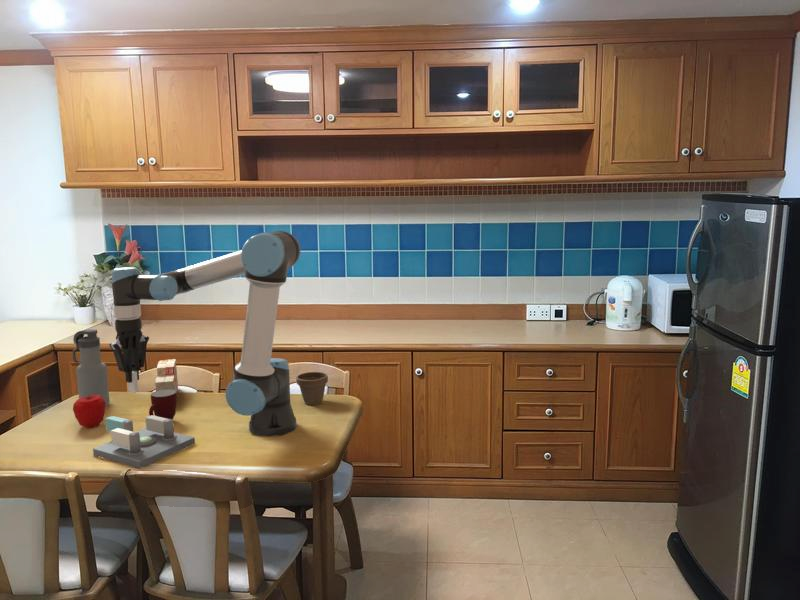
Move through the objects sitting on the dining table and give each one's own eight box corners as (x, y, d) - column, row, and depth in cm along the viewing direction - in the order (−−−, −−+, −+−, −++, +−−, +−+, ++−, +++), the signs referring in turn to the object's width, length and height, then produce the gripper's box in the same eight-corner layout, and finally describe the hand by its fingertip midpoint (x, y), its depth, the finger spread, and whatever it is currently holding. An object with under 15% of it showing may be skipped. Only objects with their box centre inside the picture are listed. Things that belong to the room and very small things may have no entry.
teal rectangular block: (135, 437, 189) (134, 420, 188) (128, 440, 186) (126, 423, 186) (114, 431, 193) (113, 415, 193) (106, 434, 191) (105, 418, 190)
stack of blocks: (174, 405, 225) (172, 372, 223) (156, 407, 223) (153, 374, 221) (178, 388, 245) (176, 358, 243) (161, 390, 243) (159, 359, 241)
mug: (164, 429, 201) (162, 400, 199) (142, 427, 203) (140, 398, 201) (183, 418, 211) (181, 390, 209) (162, 416, 213) (160, 388, 211)
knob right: (176, 436, 189) (174, 420, 188) (168, 439, 187) (167, 423, 186) (153, 430, 194) (152, 414, 193) (146, 433, 191) (144, 417, 190)
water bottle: (72, 408, 222) (65, 332, 218) (93, 400, 231) (86, 326, 227) (95, 411, 219) (88, 334, 215) (115, 402, 228) (109, 328, 224)
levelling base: (195, 443, 189) (194, 433, 189) (140, 468, 172) (139, 457, 171) (149, 432, 199) (149, 422, 198) (93, 455, 181) (92, 444, 181)
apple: (96, 419, 211) (93, 388, 210) (114, 424, 206) (111, 392, 205) (68, 428, 203) (65, 396, 201) (86, 433, 198) (83, 401, 196)
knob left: (142, 450, 179) (141, 433, 178) (134, 454, 176) (133, 436, 175) (120, 444, 183) (118, 427, 182) (111, 447, 181) (110, 430, 180)
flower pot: (290, 402, 227) (289, 375, 225) (316, 395, 235) (315, 369, 233) (308, 409, 219) (307, 382, 217) (334, 402, 226) (334, 375, 225)
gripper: (137, 313, 198) (142, 384, 202) (101, 320, 187) (107, 395, 191) (153, 315, 195) (158, 387, 199) (117, 322, 183) (123, 399, 187)
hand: (133, 391), depth 195 cm, fingers closed
